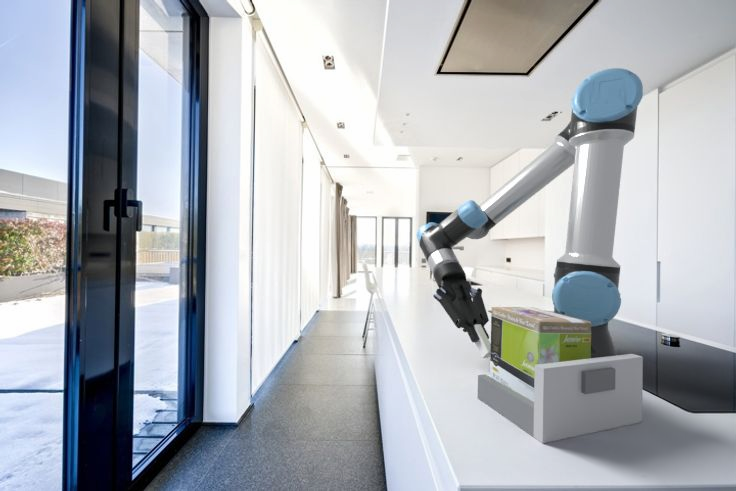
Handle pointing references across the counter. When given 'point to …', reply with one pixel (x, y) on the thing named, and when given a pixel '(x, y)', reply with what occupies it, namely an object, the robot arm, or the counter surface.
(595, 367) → the grey drawer
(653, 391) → the counter surface
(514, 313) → the tea box
